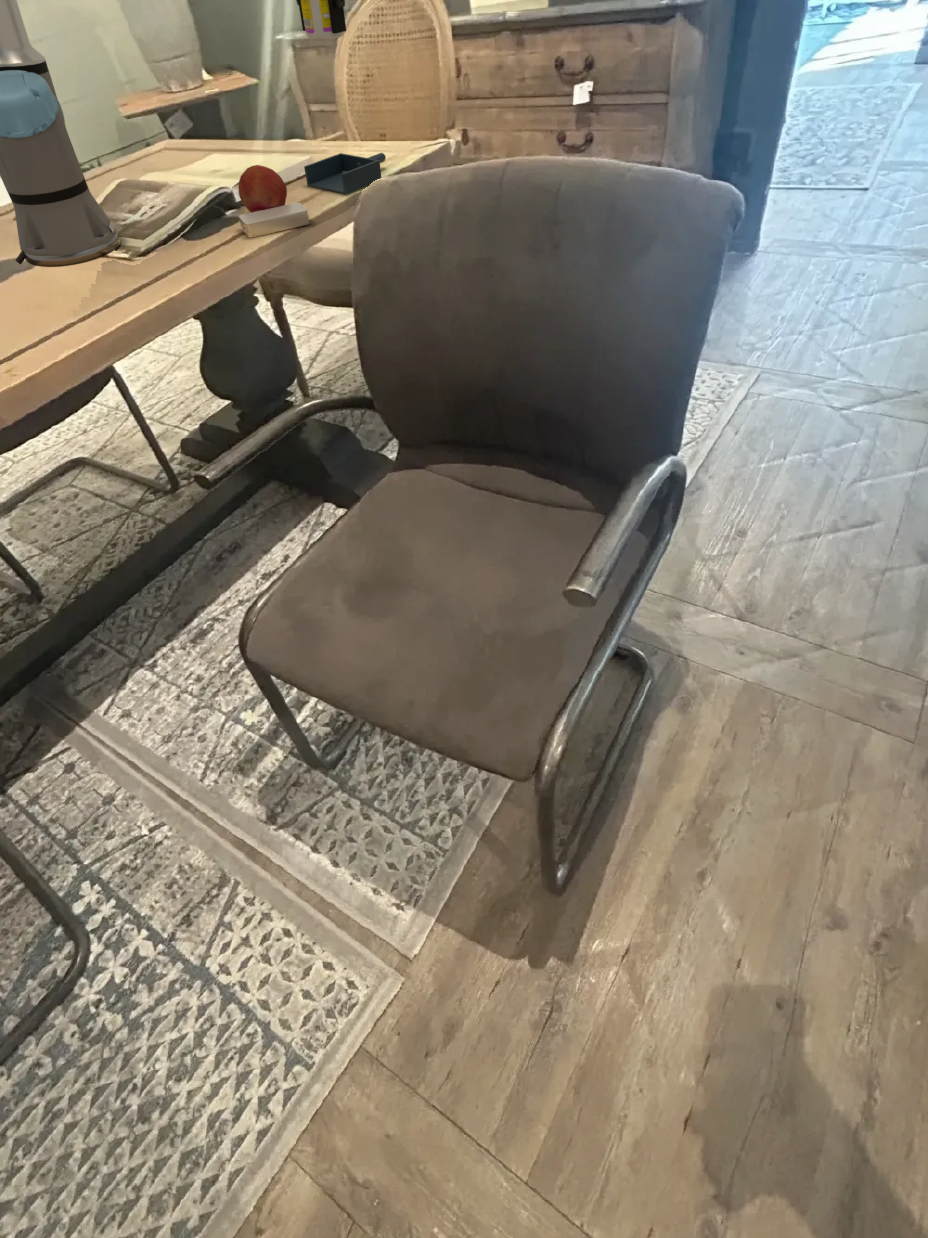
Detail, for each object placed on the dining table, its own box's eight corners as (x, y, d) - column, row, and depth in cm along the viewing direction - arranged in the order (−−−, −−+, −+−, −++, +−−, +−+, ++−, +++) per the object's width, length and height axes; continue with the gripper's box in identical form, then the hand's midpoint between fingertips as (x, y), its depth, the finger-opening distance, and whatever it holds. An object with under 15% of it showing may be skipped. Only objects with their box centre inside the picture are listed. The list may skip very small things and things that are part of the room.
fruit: (297, 181, 128) (292, 234, 127) (257, 186, 130) (251, 239, 129) (274, 148, 120) (268, 205, 119) (232, 154, 122) (226, 209, 121)
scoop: (346, 194, 134) (342, 174, 131) (307, 186, 139) (303, 166, 136) (404, 171, 143) (403, 151, 140) (366, 163, 147) (364, 144, 145)
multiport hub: (299, 201, 124) (302, 216, 126) (238, 215, 121) (241, 229, 123) (307, 210, 122) (310, 224, 124) (245, 224, 119) (249, 238, 120)
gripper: (360, -168, 106) (380, 30, 123) (272, -160, 115) (301, 24, 132) (324, -168, 102) (349, 37, 119) (235, -159, 111) (270, 31, 128)
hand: (324, 30), depth 125 cm, fingers closed on supplement bottle, 7 cm apart
